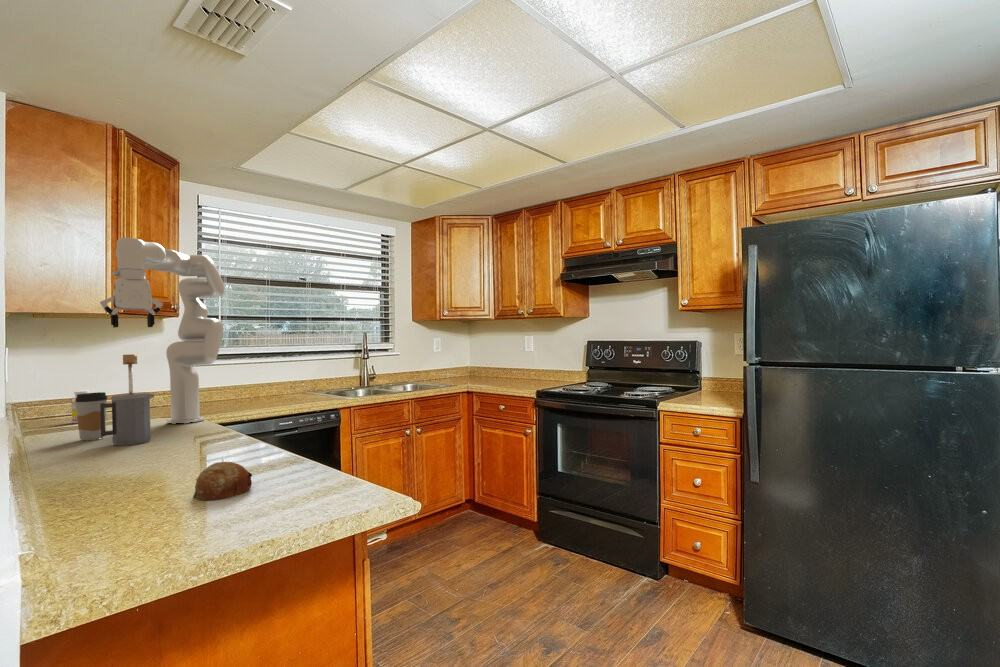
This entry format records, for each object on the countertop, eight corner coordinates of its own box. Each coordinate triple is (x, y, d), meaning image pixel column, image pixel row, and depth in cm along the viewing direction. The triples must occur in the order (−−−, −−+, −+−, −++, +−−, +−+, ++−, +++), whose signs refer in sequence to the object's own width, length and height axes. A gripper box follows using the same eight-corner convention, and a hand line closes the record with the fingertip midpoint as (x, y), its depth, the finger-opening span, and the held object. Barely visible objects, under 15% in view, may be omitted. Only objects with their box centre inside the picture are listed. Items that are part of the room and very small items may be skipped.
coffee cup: (104, 435, 173) (103, 391, 173) (111, 438, 167) (110, 392, 168) (73, 440, 166) (72, 394, 166) (79, 442, 161) (78, 395, 161)
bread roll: (199, 510, 102) (178, 477, 100) (247, 478, 108) (228, 447, 106) (213, 521, 95) (191, 487, 92) (264, 486, 101) (245, 453, 99)
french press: (103, 443, 158) (102, 394, 158) (155, 438, 165) (154, 391, 165) (99, 448, 150) (98, 397, 150) (154, 442, 157) (152, 393, 157)
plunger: (120, 415, 159) (119, 354, 159) (143, 413, 162) (142, 354, 162) (118, 417, 154) (116, 355, 154) (142, 415, 157) (140, 354, 157)
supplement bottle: (89, 420, 212) (88, 389, 212) (96, 421, 209) (95, 390, 209) (69, 423, 206) (68, 391, 207) (76, 424, 203) (75, 392, 203)
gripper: (102, 272, 160) (104, 327, 160) (165, 276, 173) (167, 326, 173) (96, 275, 165) (97, 327, 165) (157, 278, 178) (159, 327, 178)
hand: (133, 327), depth 169 cm, fingers open, 9 cm apart
